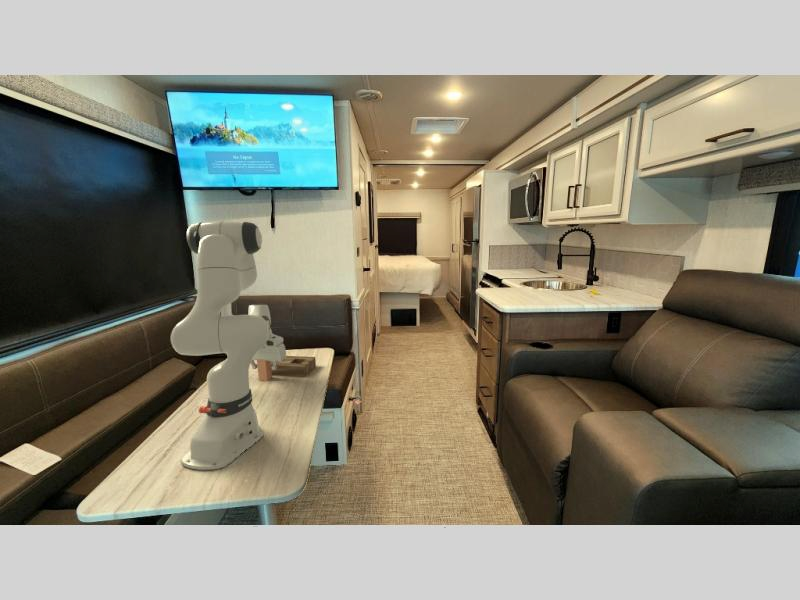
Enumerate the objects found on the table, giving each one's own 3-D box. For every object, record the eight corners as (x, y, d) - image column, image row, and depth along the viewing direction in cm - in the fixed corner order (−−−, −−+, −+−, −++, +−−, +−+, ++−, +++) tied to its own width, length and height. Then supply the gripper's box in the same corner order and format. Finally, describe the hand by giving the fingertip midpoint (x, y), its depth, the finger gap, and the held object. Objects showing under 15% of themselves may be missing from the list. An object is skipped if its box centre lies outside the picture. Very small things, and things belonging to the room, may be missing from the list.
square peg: (267, 381, 138) (265, 359, 136) (258, 380, 139) (256, 359, 137) (272, 377, 142) (270, 356, 140) (264, 376, 142) (262, 356, 141)
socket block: (305, 376, 142) (304, 366, 141) (264, 374, 144) (263, 364, 144) (315, 366, 153) (315, 356, 152) (278, 364, 156) (277, 354, 155)
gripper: (235, 340, 135) (238, 370, 138) (279, 342, 132) (281, 373, 135) (244, 336, 141) (247, 365, 144) (286, 338, 138) (289, 367, 141)
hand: (264, 369), depth 139 cm, fingers open, 8 cm apart
